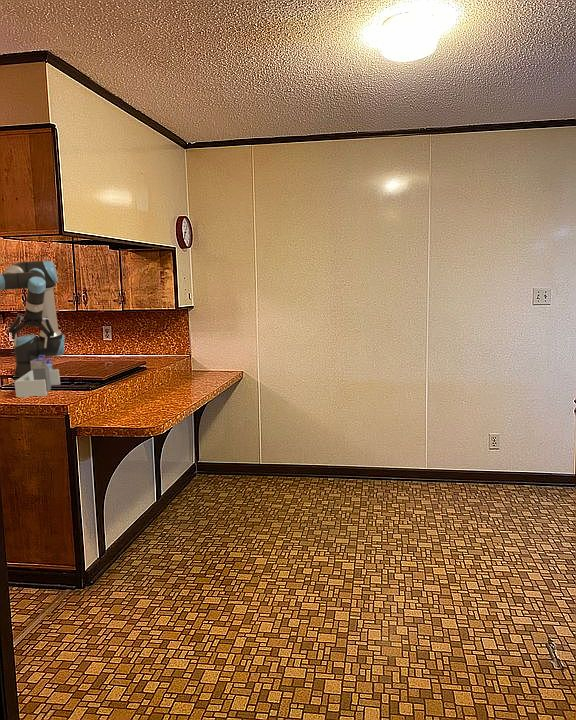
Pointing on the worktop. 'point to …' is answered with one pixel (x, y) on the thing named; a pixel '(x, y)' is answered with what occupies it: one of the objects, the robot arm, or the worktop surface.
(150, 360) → the worktop surface
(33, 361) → the ink cartridge box
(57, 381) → the open side box
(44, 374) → the dark grey block
